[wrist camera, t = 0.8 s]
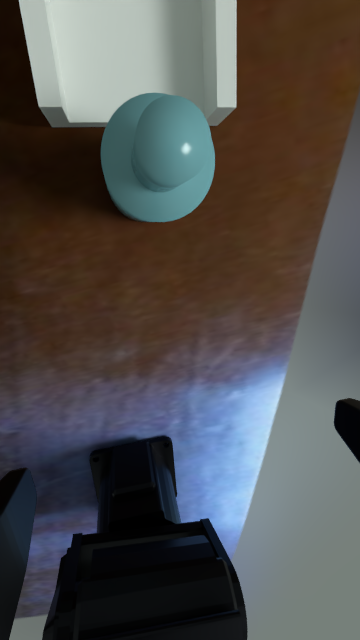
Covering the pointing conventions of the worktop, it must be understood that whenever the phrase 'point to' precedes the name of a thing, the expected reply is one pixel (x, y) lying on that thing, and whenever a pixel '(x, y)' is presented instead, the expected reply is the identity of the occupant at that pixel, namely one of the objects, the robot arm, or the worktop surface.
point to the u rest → (129, 55)
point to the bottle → (157, 157)
